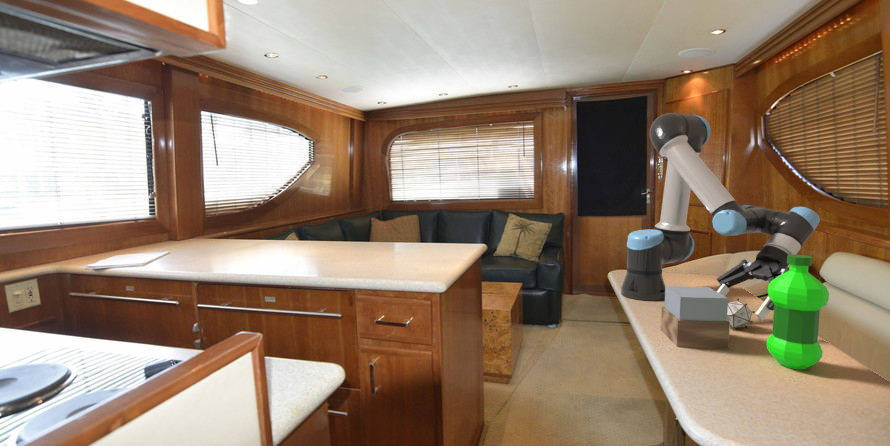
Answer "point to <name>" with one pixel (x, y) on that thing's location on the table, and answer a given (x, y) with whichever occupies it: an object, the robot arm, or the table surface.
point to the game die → (738, 314)
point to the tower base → (695, 332)
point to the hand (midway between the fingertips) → (735, 310)
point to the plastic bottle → (796, 315)
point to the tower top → (696, 303)
